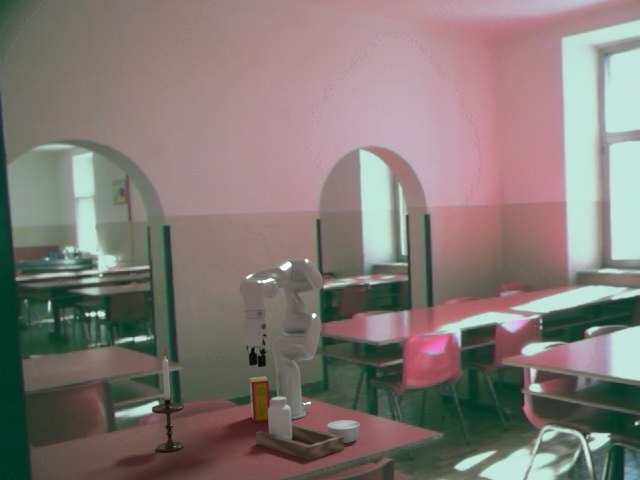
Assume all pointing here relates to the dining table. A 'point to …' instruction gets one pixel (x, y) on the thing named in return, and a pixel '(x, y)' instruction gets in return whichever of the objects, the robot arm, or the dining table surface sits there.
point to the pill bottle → (280, 418)
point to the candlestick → (168, 412)
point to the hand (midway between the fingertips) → (257, 365)
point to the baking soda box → (259, 398)
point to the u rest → (322, 440)
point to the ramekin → (345, 429)
